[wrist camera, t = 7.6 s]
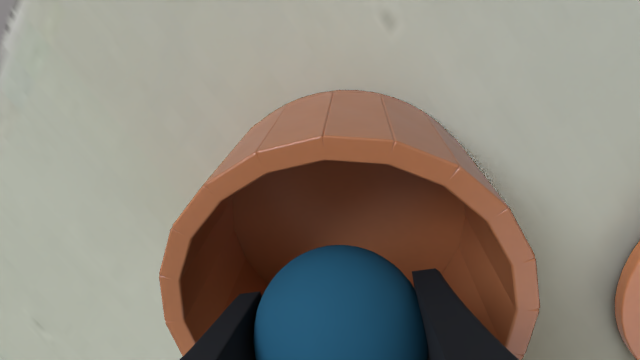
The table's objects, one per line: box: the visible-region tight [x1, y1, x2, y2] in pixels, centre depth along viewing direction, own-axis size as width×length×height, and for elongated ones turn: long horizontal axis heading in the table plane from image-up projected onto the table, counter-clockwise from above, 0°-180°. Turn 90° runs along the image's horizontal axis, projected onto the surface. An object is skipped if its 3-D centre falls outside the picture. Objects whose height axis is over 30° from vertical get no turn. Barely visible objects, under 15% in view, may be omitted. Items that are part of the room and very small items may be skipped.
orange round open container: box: [159, 90, 540, 360], centre depth 13 cm, size 10×10×6 cm
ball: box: [253, 245, 428, 360], centre depth 10 cm, size 4×4×4 cm
